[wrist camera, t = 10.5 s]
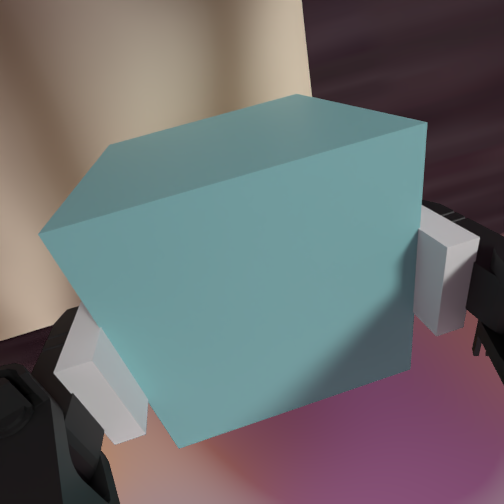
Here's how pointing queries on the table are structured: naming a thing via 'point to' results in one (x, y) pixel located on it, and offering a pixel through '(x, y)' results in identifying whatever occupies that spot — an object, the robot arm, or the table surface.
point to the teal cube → (251, 258)
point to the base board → (115, 105)
